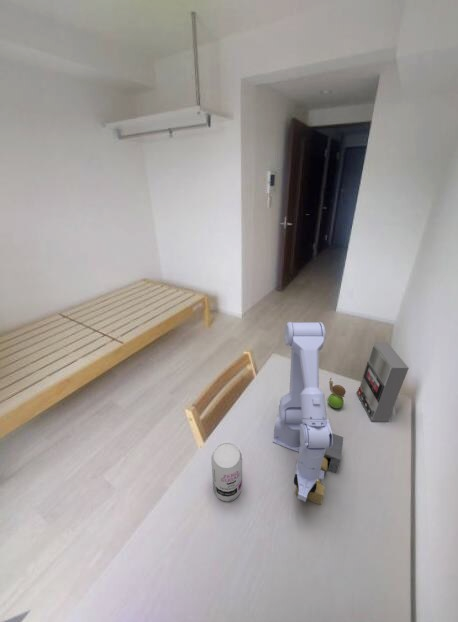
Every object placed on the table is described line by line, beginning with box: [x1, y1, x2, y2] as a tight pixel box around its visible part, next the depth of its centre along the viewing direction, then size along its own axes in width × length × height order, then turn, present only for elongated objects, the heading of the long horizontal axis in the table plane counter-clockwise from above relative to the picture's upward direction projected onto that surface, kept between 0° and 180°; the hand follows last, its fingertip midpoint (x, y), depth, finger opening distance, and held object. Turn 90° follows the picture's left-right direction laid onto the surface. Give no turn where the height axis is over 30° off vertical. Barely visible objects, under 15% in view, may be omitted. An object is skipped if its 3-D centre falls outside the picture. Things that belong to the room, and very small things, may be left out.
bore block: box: [324, 432, 344, 475], centre depth 84 cm, size 10×8×7 cm
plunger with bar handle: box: [294, 456, 329, 506], centre depth 79 cm, size 7×15×5 cm, turn 155°
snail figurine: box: [327, 377, 347, 409], centre depth 100 cm, size 5×6×12 cm
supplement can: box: [210, 442, 243, 502], centre depth 74 cm, size 8×8×15 cm
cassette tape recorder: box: [356, 342, 410, 423], centre depth 96 cm, size 14×6×25 cm, turn 178°
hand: (303, 488), depth 75 cm, fingers closed on plunger with bar handle, 2 cm apart
